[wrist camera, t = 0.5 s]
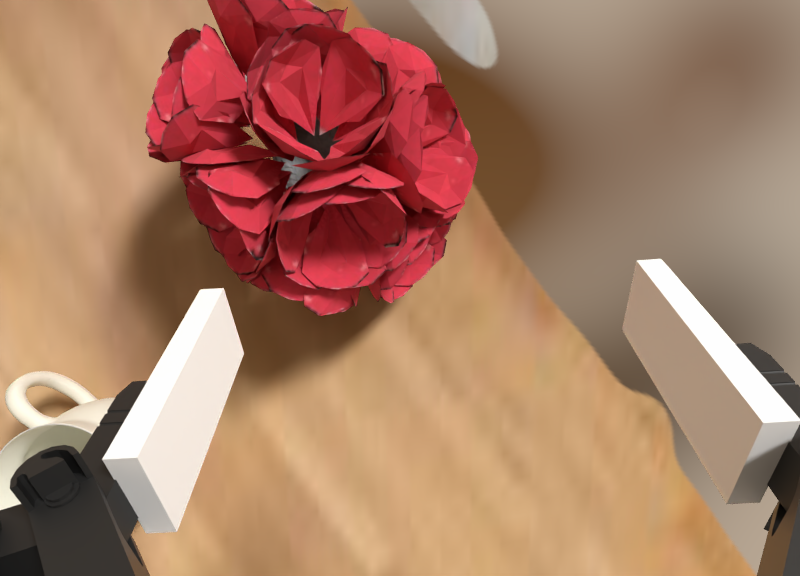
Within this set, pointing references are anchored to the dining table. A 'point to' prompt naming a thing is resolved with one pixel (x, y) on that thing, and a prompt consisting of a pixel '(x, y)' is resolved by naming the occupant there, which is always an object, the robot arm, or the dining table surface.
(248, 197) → the bouquet
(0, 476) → the pitcher
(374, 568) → the dining table surface
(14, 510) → the robot arm
